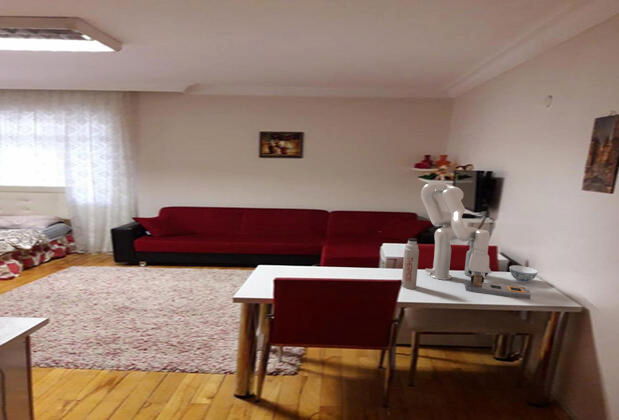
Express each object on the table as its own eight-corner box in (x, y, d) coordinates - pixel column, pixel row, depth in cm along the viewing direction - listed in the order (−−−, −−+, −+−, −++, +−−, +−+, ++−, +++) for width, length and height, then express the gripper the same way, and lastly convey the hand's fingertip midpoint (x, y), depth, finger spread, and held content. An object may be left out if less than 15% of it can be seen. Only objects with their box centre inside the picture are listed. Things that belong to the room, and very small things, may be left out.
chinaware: (534, 287, 214) (536, 274, 212) (506, 281, 222) (507, 269, 221) (537, 281, 225) (539, 269, 224) (510, 275, 234) (511, 264, 233)
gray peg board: (465, 290, 204) (466, 286, 204) (464, 283, 216) (464, 279, 215) (530, 299, 195) (530, 294, 194) (524, 291, 206) (525, 287, 206)
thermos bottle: (411, 290, 202) (415, 241, 198) (399, 286, 208) (402, 238, 203) (418, 286, 208) (422, 239, 204) (405, 283, 213) (409, 236, 209)
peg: (472, 289, 207) (474, 275, 206) (472, 286, 211) (473, 273, 209) (480, 290, 206) (481, 276, 204) (479, 287, 209) (481, 274, 208)
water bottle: (484, 276, 230) (489, 233, 226) (474, 278, 226) (478, 234, 221) (471, 271, 239) (475, 230, 235) (460, 273, 235) (465, 231, 230)
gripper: (464, 251, 204) (461, 282, 207) (497, 255, 199) (494, 286, 202) (463, 248, 211) (460, 278, 214) (495, 251, 206) (491, 282, 209)
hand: (476, 282), depth 208 cm, fingers closed on peg, 4 cm apart
